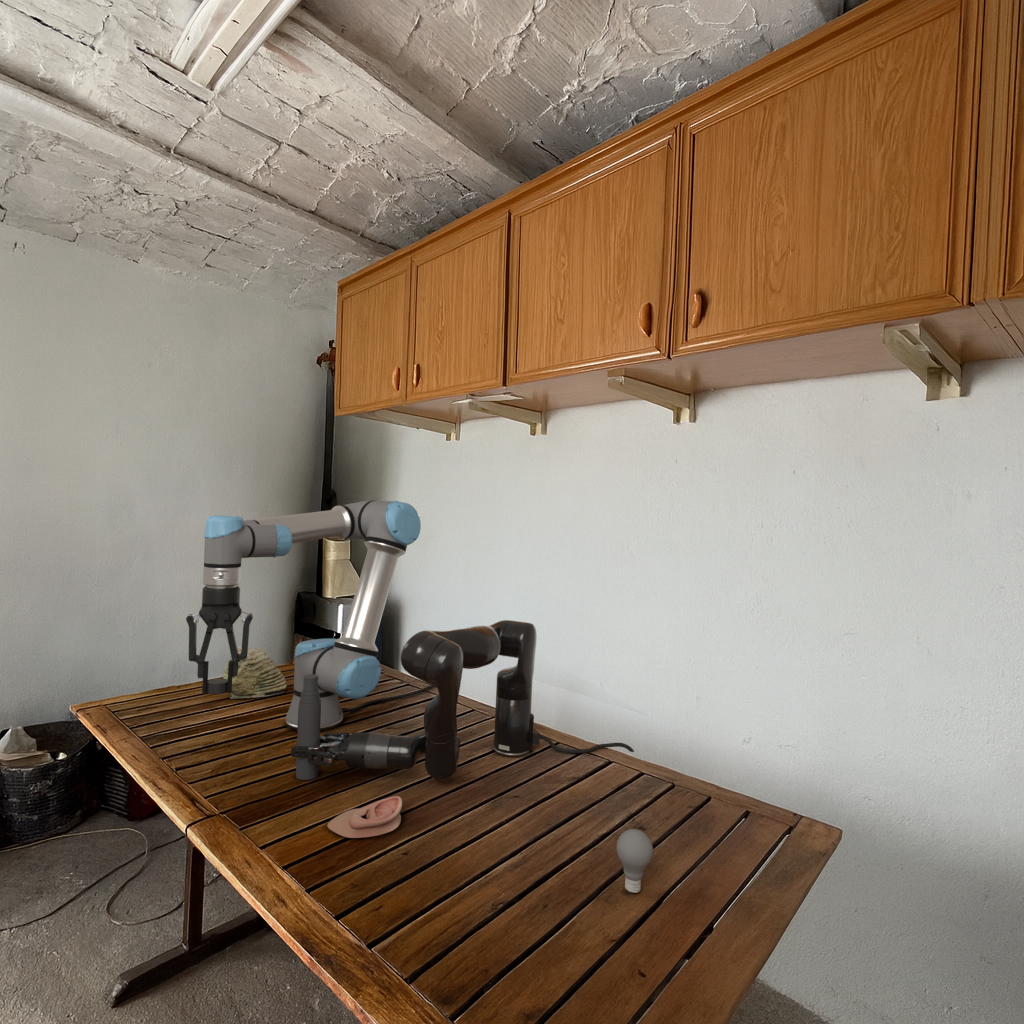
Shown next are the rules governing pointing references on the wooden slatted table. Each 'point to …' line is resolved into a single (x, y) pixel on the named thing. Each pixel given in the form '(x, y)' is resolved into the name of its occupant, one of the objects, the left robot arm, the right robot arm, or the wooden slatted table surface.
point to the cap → (217, 686)
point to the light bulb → (634, 857)
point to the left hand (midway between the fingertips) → (217, 691)
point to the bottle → (308, 726)
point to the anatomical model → (369, 819)
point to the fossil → (256, 676)
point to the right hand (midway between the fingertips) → (296, 746)
